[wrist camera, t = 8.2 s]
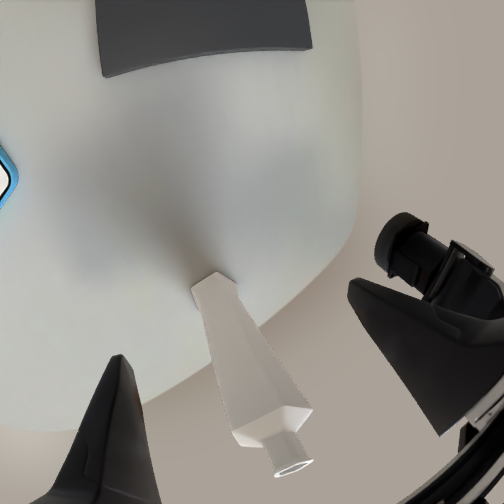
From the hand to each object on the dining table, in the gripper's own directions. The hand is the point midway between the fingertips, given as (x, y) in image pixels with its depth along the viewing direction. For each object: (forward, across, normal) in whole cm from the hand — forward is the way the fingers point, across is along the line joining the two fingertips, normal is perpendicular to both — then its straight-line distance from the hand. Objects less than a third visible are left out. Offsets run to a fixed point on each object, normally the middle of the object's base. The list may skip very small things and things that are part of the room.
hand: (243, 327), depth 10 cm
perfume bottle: (+11, 0, +7) cm, 13 cm away
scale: (+11, -3, -16) cm, 19 cm away
